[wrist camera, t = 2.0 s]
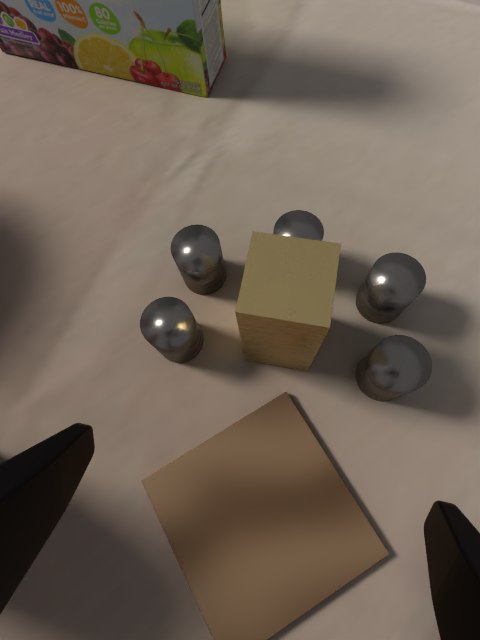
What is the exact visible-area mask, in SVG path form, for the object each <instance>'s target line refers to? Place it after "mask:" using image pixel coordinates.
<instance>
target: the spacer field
mask: <svg viewBox="0 0 480 640" xmlns="http://www.w3.org/2000/svg"><path fill="white" fill-rule="evenodd" d="M274 234H275V235H282V236H290V237H297V238H304V239H311V240H318V241H322V239H323V235H324V229H323V226H322V223H321V222H320V220H319V219H318V218H317V217H316V216H315V215H313V214H312V213H309V212H306V211H301V210H295V211H290V212H288V213H285V214H284V215H282V216H281V217H280V218H279V219H278V220H277V222H276V224H275V226H274ZM171 253H172V256H173V258H174V260H175V262H176V264H177V267H178V269H179V271H180V273H181V275H182V277H183V279H184V281H185V283H186V285H187V287H188V288H189V289H190V290H191V291H193V292H195V293H197V294H202V295H206V294H211V293H213V292H215V291H217V290H218V289H220V288H221V286H222V285H223V284H224V282H225V279H226V269H225V265H224V260H223V255H222V251H221V246H220V242H219V238H218V236H217V234H216V233H215V232H214V231H213V230H212V229H210V228H209V227H207V226H203V225H191V226H188V227H185V228H183V229H182V230H180V231H179V232H178V233H177V234H176V235H175V236H174V238H173V240H172V243H171ZM425 284H426V275H425V271H424V269H423V267H422V266H421V264H420V263H419V262H418V261H417V260H416V259H414V258H413V257H411V256H409V255H407V254H403V253H389V254H386V255H383V256H382V257H380V258H379V259H378V260H377V261H376V262H375V264H374V265H373V267H372V269H371V270H370V272H369V274H368V276H367V277H366V279H365V281H364V282H363V284H362V286H361V288H360V289H359V291H358V293H357V296H356V306H357V309H358V311H359V312H360V314H361V315H362V316H363V317H364V318H366V319H367V320H369V321H371V322H374V323H388V322H390V321H392V320H394V319H395V318H396V317H397V316H398V315H399V314H400V313H401V312H402V311H403V310H404V309H405V308H406V307H407V306H408V305H409V304H410V303H411V302H412V301H413V300H414V299H415V298H416V297H417V296H418V295H419V294H420V293H421V292H422V290H423V289H424V287H425ZM140 328H141V332H142V334H143V336H144V337H145V339H146V340H147V341H148V342H149V343H150V344H151V345H153V346H154V347H155V348H156V349H157V350H158V351H159V352H160V353H161V354H162V355H163V356H164V357H165V358H167V359H168V360H170V361H172V362H176V363H182V362H187V361H189V360H191V359H193V358H194V357H195V356H196V355H197V354H198V353H199V352H200V350H201V348H202V345H203V334H202V331H201V329H200V328H199V326H198V324H197V322H196V320H195V318H194V316H193V314H192V312H191V311H190V309H189V307H188V306H187V305H186V304H185V303H184V302H183V301H182V300H180V299H177V298H174V297H163V298H159V299H157V300H155V301H153V302H152V303H150V304H149V305H148V306H147V307H146V308H145V310H144V311H143V313H142V316H141V320H140ZM431 370H432V363H431V358H430V356H429V353H428V352H427V350H426V349H425V347H424V346H423V345H422V344H421V343H419V342H418V341H417V340H415V339H413V338H411V337H408V336H403V335H394V336H390V337H387V338H385V339H384V340H382V341H381V342H380V343H379V344H378V345H377V346H376V347H375V348H374V349H372V350H371V351H370V352H369V353H368V354H367V355H366V356H365V357H364V358H363V359H362V360H361V361H360V362H359V364H358V366H357V369H356V380H357V384H358V386H359V388H360V389H361V390H362V392H363V393H364V394H366V395H367V396H368V397H370V398H372V399H374V400H378V401H388V400H391V399H394V398H396V397H399V396H401V395H403V394H406V393H408V392H411V391H413V390H416V389H418V388H420V387H421V386H423V385H424V384H425V383H426V382H427V380H428V379H429V377H430V375H431Z"/></svg>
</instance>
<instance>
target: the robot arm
mask: <svg viewBox="0 0 480 640" xmlns="http://www.w3.org/2000/svg"><path fill="white" fill-rule="evenodd" d="M94 448H95V446H94V437H93V429H92V427H91V426H90V425H86V424H81V423H76V424H73V425H71V426H70V427H68V428H66V429H64V430H62V431H60V432H59V433H57V434H55V435H53V436H51V437H49V438H47V439H46V440H44V441H42V442H40V443H38V444H36V445H35V446H33V447H31V448H29V449H27V450H25V451H23V452H22V453H20V454H18V455H16V456H14V457H12V458H11V459H9V460H7V461H5V462H3V463H1V464H0V614H1V612H2V611H3V609H4V608H5V606H6V604H7V603H8V601H9V600H10V598H11V596H12V595H13V593H14V592H15V590H16V589H17V587H18V585H19V584H20V582H21V581H22V579H23V577H24V576H25V574H26V573H27V571H28V569H29V568H30V566H31V565H32V563H33V561H34V560H35V558H36V557H37V555H38V553H39V552H40V550H41V549H42V547H43V545H44V544H45V542H46V541H47V539H48V538H49V536H50V534H51V533H52V531H53V530H54V528H55V526H56V525H57V523H58V522H59V520H60V518H61V517H62V515H63V513H64V512H65V510H66V508H67V506H68V505H69V503H70V501H71V499H72V497H73V495H74V493H75V491H76V489H77V487H78V485H79V483H80V481H81V479H82V477H83V475H84V473H85V471H86V469H87V467H88V464H89V462H90V460H91V458H92V456H93V454H94ZM424 537H425V545H426V554H427V562H428V571H429V579H430V588H431V595H432V601H433V606H434V611H435V616H436V620H437V625H438V629H439V634H440V638H441V640H480V533H479V532H478V530H477V529H476V528H475V527H474V526H473V525H472V524H471V522H470V521H469V520H468V519H467V518H466V517H465V515H464V514H463V513H462V512H461V511H460V510H459V509H458V507H457V506H455V505H454V504H452V503H448V502H443V501H436V502H434V504H433V506H432V508H431V510H430V512H429V514H428V516H427V518H426V520H425V523H424Z"/></svg>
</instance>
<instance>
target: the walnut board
mask: <svg viewBox="0 0 480 640" xmlns="http://www.w3.org/2000/svg"><path fill="white" fill-rule="evenodd" d="M142 483H143V486H144V488H145V490H146V492H147V494H148V497H149V499H150V501H151V503H152V505H153V508H154V510H155V512H156V514H157V516H158V519H159V521H160V523H161V525H162V527H163V530H164V532H165V534H166V536H167V538H168V540H169V543H170V545H171V547H172V549H173V551H174V554H175V556H176V558H177V560H178V562H179V565H180V567H181V569H182V571H183V573H184V576H185V578H186V580H187V582H188V584H189V587H190V589H191V591H192V593H193V595H194V598H195V600H196V602H197V604H198V606H199V609H200V611H201V613H202V615H203V617H204V620H205V622H206V624H207V626H208V628H209V631H210V633H211V635H212V637H213V639H214V640H267V639H269V638H270V637H271V636H273V635H274V634H276V633H277V632H279V631H280V630H281V629H283V628H284V627H286V626H287V625H289V624H290V623H291V622H293V621H294V620H296V619H297V618H298V617H300V616H301V615H303V614H304V613H306V612H307V611H308V610H310V609H311V608H313V607H314V606H316V605H317V604H318V603H320V602H321V601H323V600H324V599H326V598H327V597H328V596H330V595H331V594H333V593H334V592H336V591H337V590H338V589H340V588H341V587H343V586H344V585H345V584H347V583H348V582H350V581H351V580H353V579H354V578H355V577H357V576H358V575H360V574H361V573H363V572H364V571H365V570H367V569H368V568H370V567H371V566H373V565H374V564H375V563H377V562H378V561H380V560H381V559H383V558H384V557H385V556H387V555H388V554H389V553H388V551H387V550H386V548H385V547H384V545H383V544H382V542H381V540H380V539H379V537H378V536H377V534H376V533H375V531H374V529H373V528H372V526H371V525H370V523H369V521H368V520H367V518H366V517H365V515H364V514H363V512H362V510H361V509H360V507H359V506H358V504H357V503H356V501H355V499H354V498H353V496H352V495H351V493H350V492H349V490H348V488H347V487H346V485H345V484H344V482H343V480H342V479H341V477H340V476H339V474H338V473H337V471H336V469H335V468H334V466H333V465H332V463H331V462H330V460H329V458H328V457H327V455H326V454H325V452H324V451H323V449H322V447H321V446H320V444H319V443H318V441H317V439H316V438H315V436H314V435H313V433H312V432H311V430H310V428H309V427H308V425H307V424H306V422H305V421H304V419H303V417H302V416H301V414H300V413H299V411H298V410H297V408H296V406H295V405H294V403H293V402H292V400H291V398H290V397H289V395H288V394H287V392H285V393H283V394H282V395H280V396H278V397H277V398H275V399H273V400H272V401H270V402H269V403H267V404H265V405H264V406H262V407H260V408H259V409H257V410H256V411H254V412H252V413H251V414H249V415H247V416H246V417H244V418H243V419H241V420H239V421H238V422H236V423H235V424H233V425H231V426H230V427H228V428H226V429H225V430H223V431H222V432H220V433H218V434H217V435H215V436H213V437H212V438H210V439H209V440H207V441H205V442H204V443H202V444H200V445H199V446H197V447H196V448H194V449H192V450H191V451H189V452H187V453H186V454H184V455H183V456H181V457H179V458H178V459H176V460H174V461H173V462H171V463H170V464H168V465H166V466H165V467H163V468H162V469H160V470H158V471H157V472H155V473H153V474H152V475H150V476H149V477H147V478H145V479H144V480H142Z"/></svg>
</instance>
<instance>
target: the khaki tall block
mask: <svg viewBox="0 0 480 640" xmlns="http://www.w3.org/2000/svg"><path fill="white" fill-rule="evenodd" d="M340 248H341V244H340V243H332V242H325V241H318V240H311V239H304V238H297V237H290V236H282V235H275V234H268V233H261V232H254V231H253V233H252V237H251V242H250V246H249V251H248V255H247V260H246V265H245V269H244V274H243V278H242V283H241V288H240V292H239V297H238V301H237V306H236V311H235V313H236V318H237V323H238V327H239V332H240V337H241V341H242V346H243V351H244V355H245V360H248V361H253V362H259V363H264V364H269V365H275V366H280V367H286V368H291V369H297V370H302V371H308V369H309V367H310V365H311V363H312V361H313V359H314V357H315V355H316V353H317V352H318V350H319V348H320V346H321V344H322V342H323V340H324V338H325V336H326V334H327V333H328V331H329V329H330V324H331V316H332V309H333V301H334V293H335V286H336V278H337V271H338V263H339V255H340Z"/></svg>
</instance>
